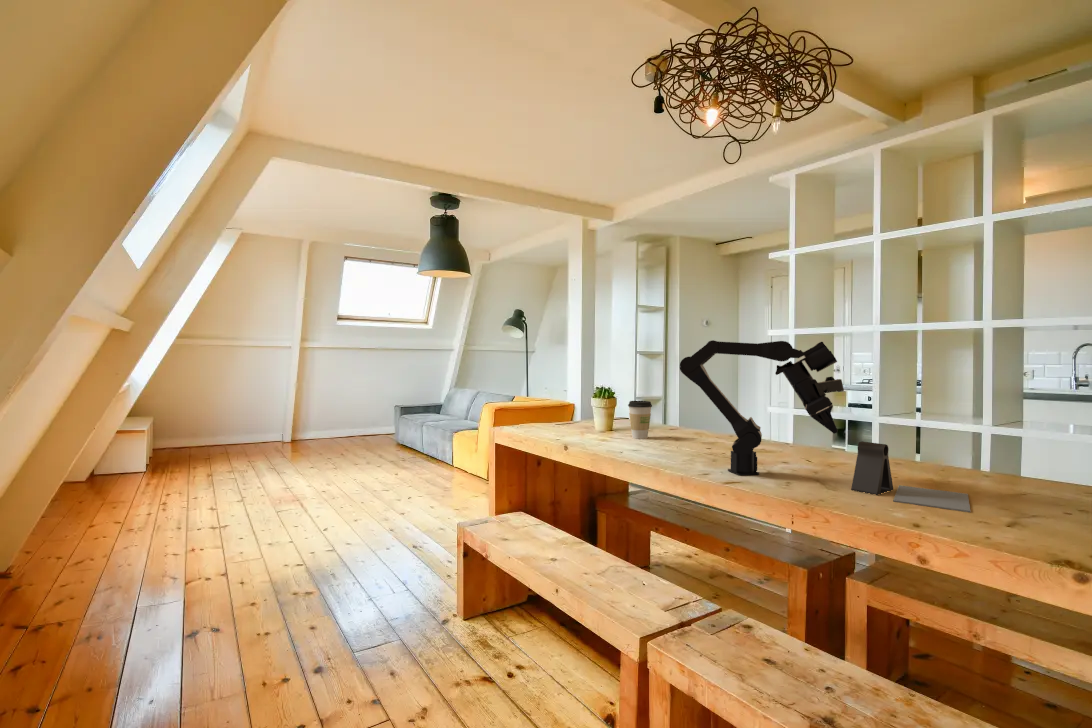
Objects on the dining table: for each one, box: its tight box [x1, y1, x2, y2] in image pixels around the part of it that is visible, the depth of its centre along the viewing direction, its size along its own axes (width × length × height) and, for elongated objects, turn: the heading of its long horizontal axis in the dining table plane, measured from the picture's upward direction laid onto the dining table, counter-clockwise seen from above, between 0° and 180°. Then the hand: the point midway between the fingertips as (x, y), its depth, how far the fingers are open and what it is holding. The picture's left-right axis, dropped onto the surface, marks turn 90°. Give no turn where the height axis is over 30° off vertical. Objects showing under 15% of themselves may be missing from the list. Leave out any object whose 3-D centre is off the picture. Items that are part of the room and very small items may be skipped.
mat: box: [893, 484, 971, 513], centre depth 126 cm, size 14×18×1 cm
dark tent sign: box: [851, 441, 894, 496], centre depth 133 cm, size 9×6×12 cm, turn 124°
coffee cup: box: [627, 400, 653, 440], centre depth 217 cm, size 10×10×15 cm
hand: (834, 430), depth 143 cm, fingers open, 9 cm apart
